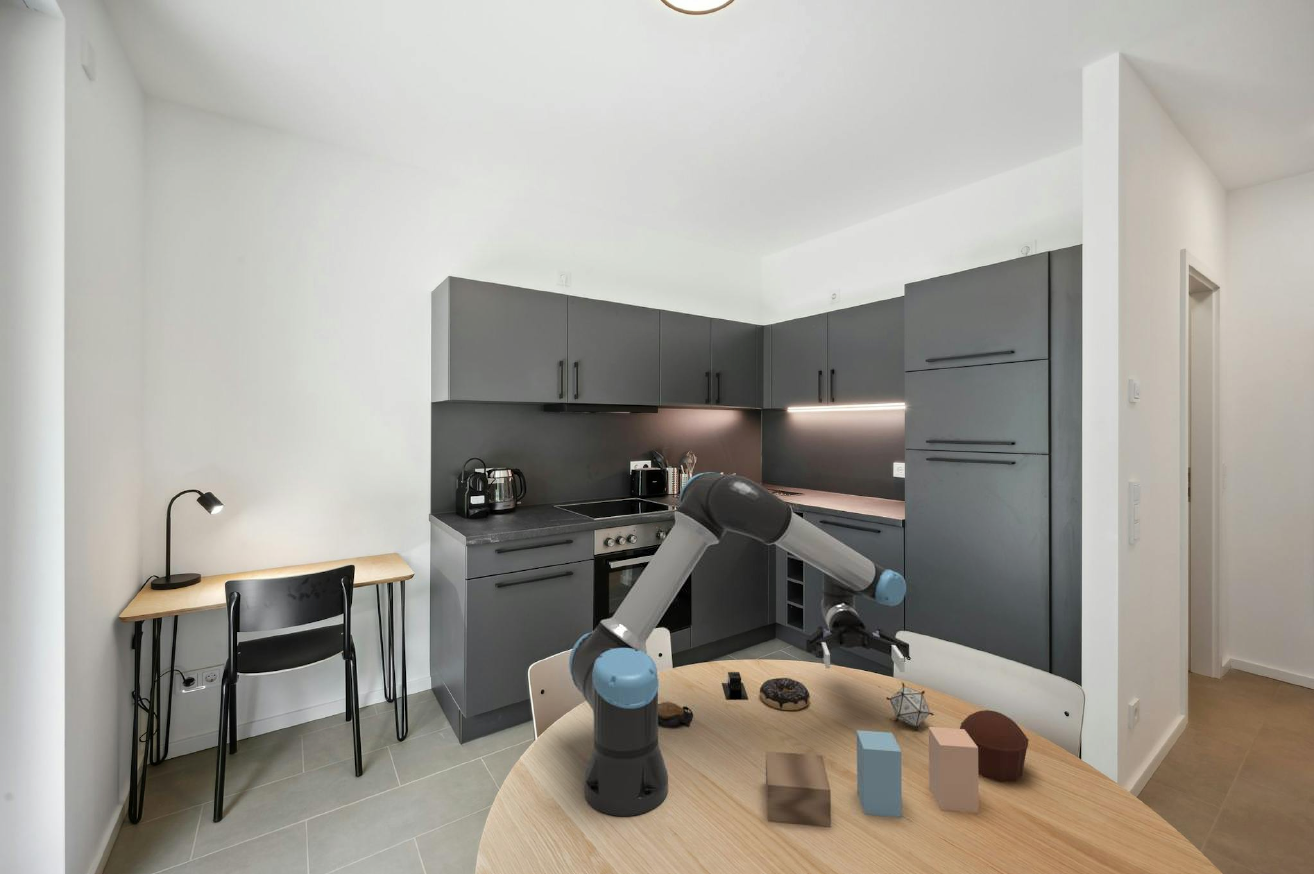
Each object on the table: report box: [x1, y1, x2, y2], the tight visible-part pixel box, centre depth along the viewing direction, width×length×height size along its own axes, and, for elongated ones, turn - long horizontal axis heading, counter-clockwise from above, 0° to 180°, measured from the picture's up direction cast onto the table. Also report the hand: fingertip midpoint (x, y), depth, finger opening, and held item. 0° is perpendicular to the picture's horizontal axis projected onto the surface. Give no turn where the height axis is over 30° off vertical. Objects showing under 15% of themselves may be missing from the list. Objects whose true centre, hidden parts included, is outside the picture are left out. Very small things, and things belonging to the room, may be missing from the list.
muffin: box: [959, 709, 1029, 783], centre depth 107 cm, size 12×11×10 cm
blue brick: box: [856, 729, 903, 818], centre depth 97 cm, size 6×6×11 cm
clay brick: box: [928, 726, 980, 814], centre depth 98 cm, size 6×6×11 cm
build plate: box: [721, 671, 749, 701], centre depth 140 cm, size 12×7×5 cm, turn 0°
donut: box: [759, 677, 811, 711], centre depth 135 cm, size 11×12×4 cm
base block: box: [765, 750, 832, 828], centre depth 97 cm, size 10×10×6 cm
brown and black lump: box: [658, 701, 694, 729], centre depth 127 cm, size 11×8×4 cm
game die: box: [885, 682, 935, 732], centre depth 123 cm, size 9×8×10 cm
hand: (864, 663), depth 107 cm, fingers open, 13 cm apart
